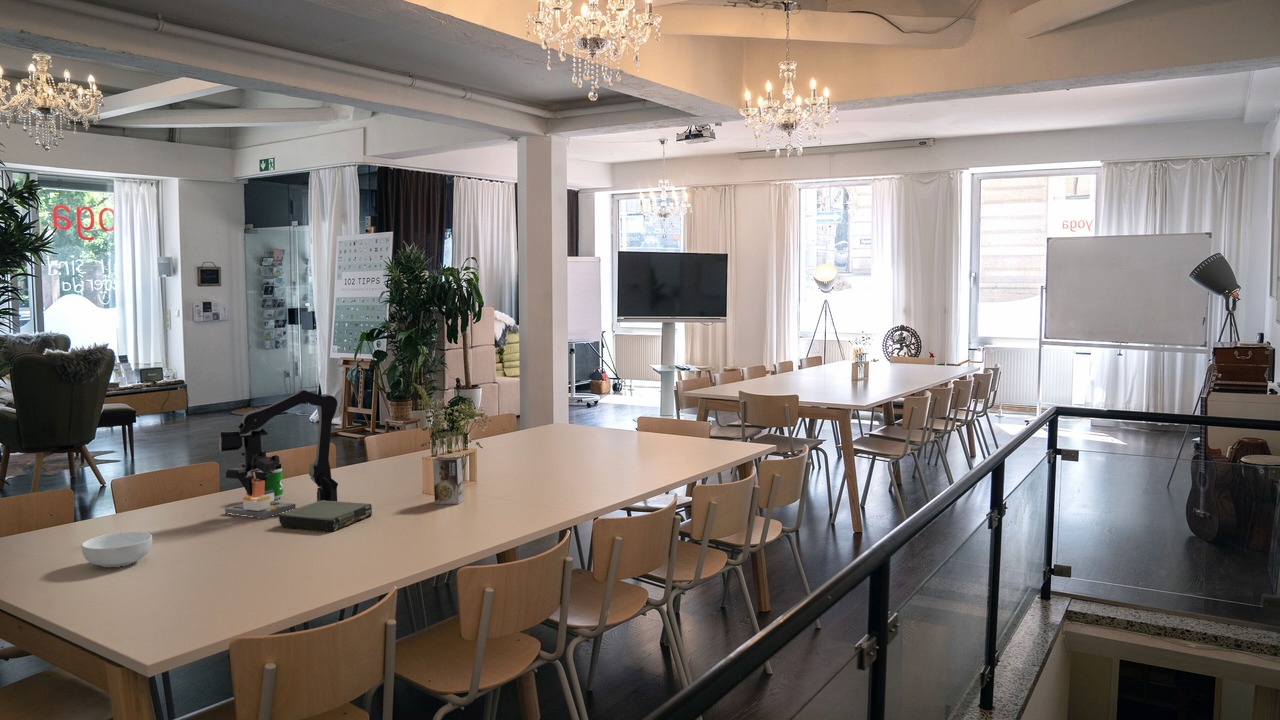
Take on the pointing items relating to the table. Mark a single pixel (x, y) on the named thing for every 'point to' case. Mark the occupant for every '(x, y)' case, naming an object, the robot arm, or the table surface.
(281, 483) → the soda can
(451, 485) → the coffee box
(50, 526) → the table surface
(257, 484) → the cap
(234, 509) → the panel
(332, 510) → the network switch
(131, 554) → the cereal bowl
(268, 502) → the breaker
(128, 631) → the table surface
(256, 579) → the table surface
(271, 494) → the block
